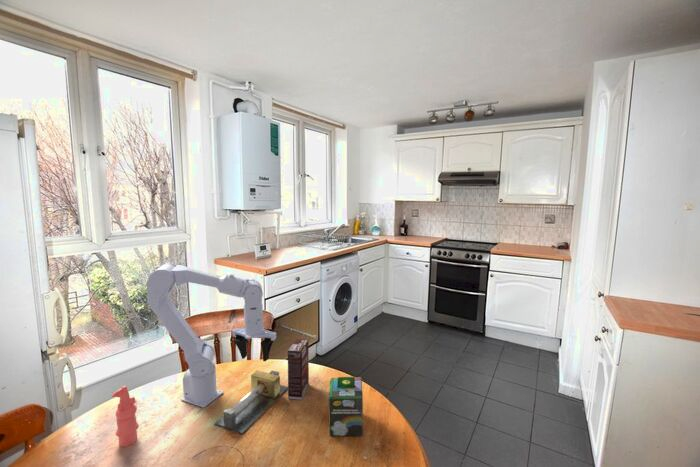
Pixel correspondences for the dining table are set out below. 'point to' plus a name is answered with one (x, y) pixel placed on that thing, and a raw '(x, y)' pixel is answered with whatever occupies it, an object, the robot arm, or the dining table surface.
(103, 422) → the dining table surface
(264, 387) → the pipe stand
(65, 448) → the dining table surface
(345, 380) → the chalk box
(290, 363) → the supplement box
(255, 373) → the yellow block with hole
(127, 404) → the figurine
